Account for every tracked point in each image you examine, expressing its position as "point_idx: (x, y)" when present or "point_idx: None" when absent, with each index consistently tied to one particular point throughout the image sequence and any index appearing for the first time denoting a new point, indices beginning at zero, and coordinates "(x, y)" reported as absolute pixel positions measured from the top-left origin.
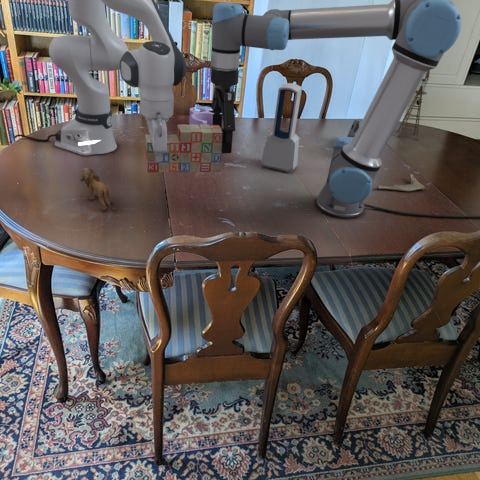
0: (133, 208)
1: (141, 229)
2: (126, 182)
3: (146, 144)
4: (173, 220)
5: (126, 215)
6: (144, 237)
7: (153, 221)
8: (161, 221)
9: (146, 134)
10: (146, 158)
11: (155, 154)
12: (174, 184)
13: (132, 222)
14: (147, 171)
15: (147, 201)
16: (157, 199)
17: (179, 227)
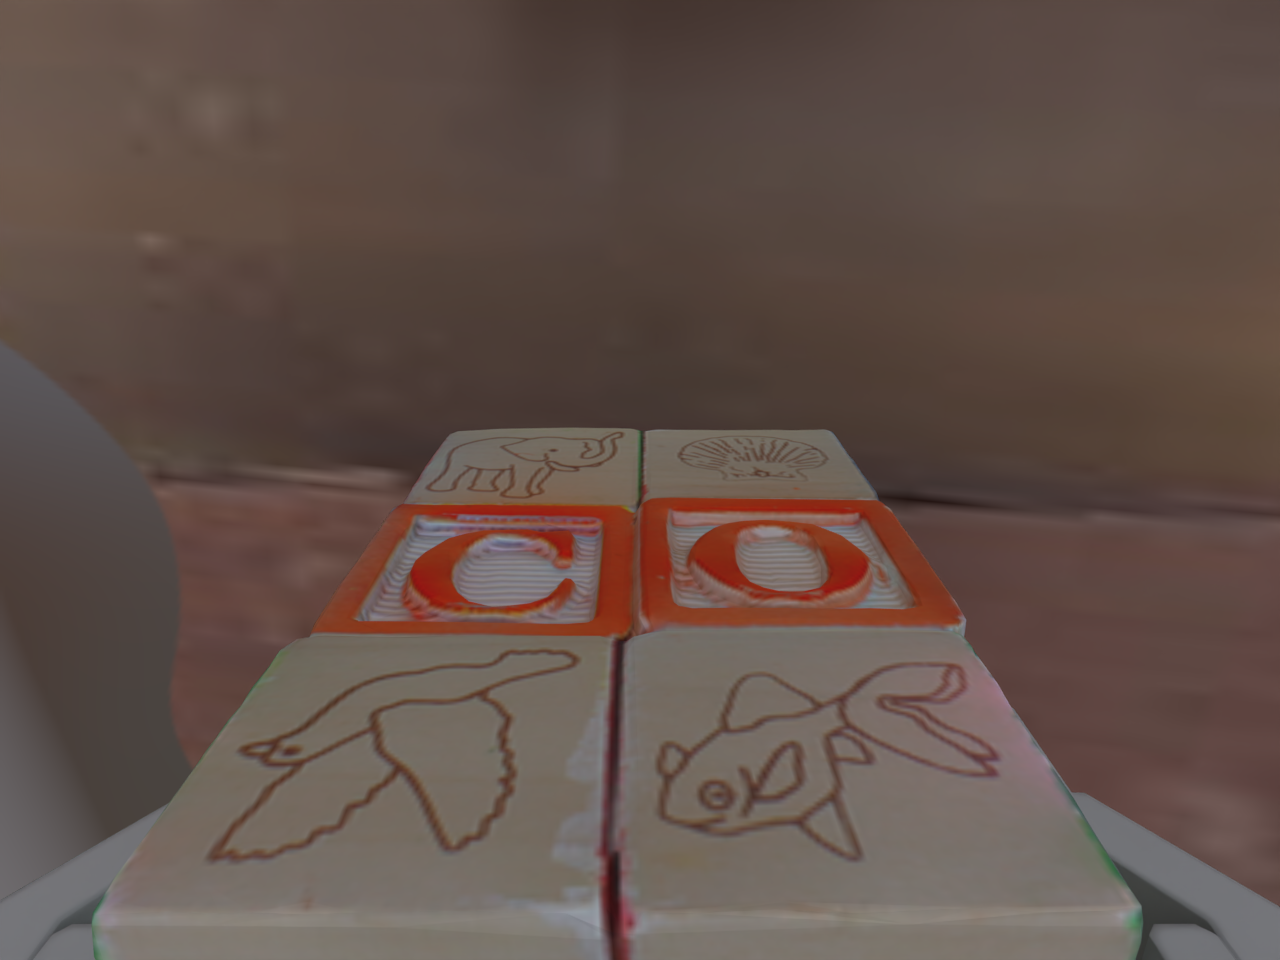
0: (606, 150)
1: (184, 210)
2: (1242, 94)
3: (597, 723)
4: (367, 513)
5: (456, 63)
6: (42, 230)
7: (342, 337)
8: (345, 409)
9: (1125, 948)
10: (645, 498)
11: (114, 839)
12: (1060, 594)
13: (313, 124)
14: (452, 434)
15: (744, 308)
16: (775, 410)
17: (250, 547)
